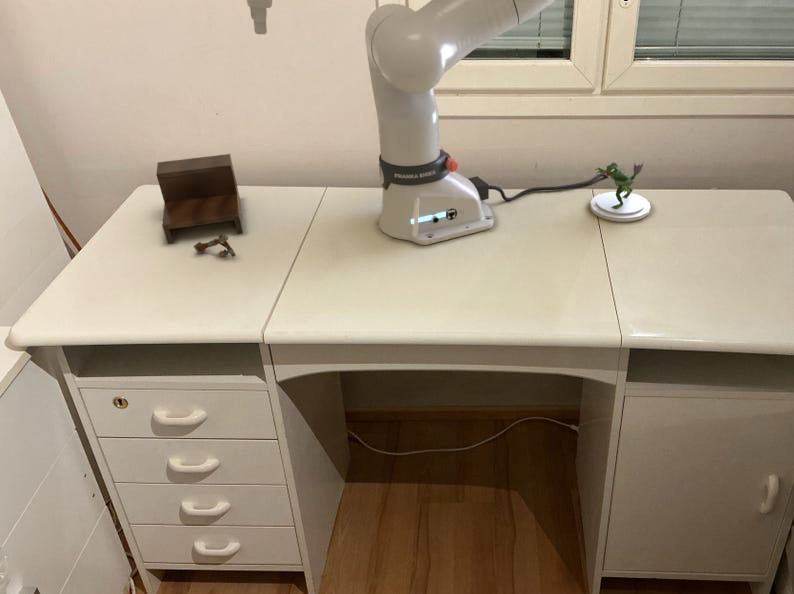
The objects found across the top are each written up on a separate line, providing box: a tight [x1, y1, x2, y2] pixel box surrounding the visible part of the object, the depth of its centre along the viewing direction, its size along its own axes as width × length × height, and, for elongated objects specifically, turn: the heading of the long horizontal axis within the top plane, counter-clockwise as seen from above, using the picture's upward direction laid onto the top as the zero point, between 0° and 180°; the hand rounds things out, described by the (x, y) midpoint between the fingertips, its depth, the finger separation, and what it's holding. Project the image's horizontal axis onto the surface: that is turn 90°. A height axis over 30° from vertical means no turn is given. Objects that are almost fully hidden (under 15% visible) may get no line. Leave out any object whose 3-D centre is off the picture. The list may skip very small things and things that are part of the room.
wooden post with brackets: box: [193, 234, 237, 258], centre depth 142 cm, size 2×8×4 cm, turn 70°
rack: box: [155, 153, 244, 245], centre depth 151 cm, size 14×16×10 cm
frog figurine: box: [589, 162, 651, 223], centre depth 153 cm, size 12×12×10 cm
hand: (258, 25), depth 124 cm, fingers open, 8 cm apart
